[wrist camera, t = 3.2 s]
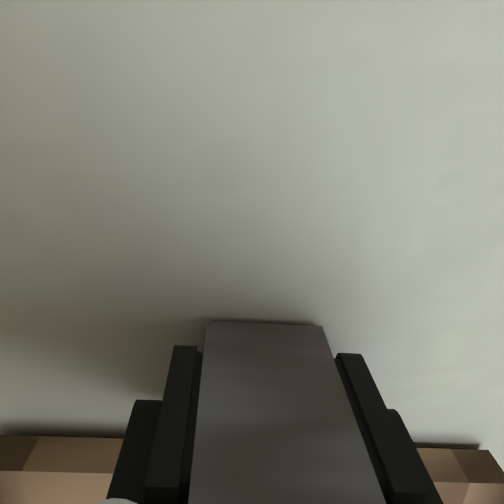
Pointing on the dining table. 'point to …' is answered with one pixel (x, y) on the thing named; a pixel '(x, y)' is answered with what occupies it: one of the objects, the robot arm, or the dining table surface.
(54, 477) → the brown hollow square frame
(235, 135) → the dining table surface
